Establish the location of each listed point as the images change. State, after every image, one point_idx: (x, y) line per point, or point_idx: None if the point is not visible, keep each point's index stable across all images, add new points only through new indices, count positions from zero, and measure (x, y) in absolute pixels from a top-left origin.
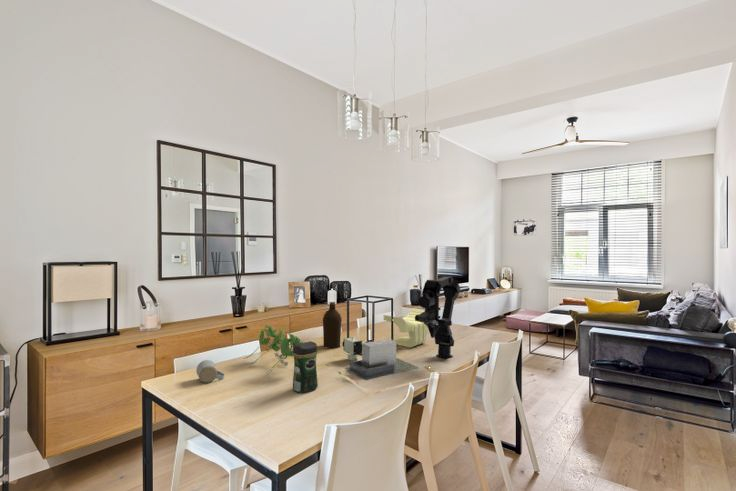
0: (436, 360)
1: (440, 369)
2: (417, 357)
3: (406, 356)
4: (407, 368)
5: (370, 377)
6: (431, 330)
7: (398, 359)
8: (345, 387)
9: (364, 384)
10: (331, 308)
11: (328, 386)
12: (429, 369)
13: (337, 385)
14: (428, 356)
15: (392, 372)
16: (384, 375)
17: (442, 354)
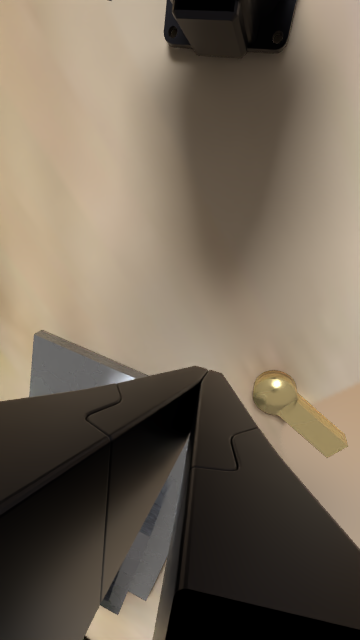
0: (229, 162)
1: (345, 341)
2: (88, 202)
3: (33, 234)
4: (185, 455)
5: (140, 579)
6: (150, 499)
7: (63, 354)
8: (133, 625)
9: (157, 602)
10: None
11: (98, 625)
12: (300, 429)
13: (108, 618)
14: (126, 109)
15: (165, 520)
16: (163, 554)
17: (243, 43)
